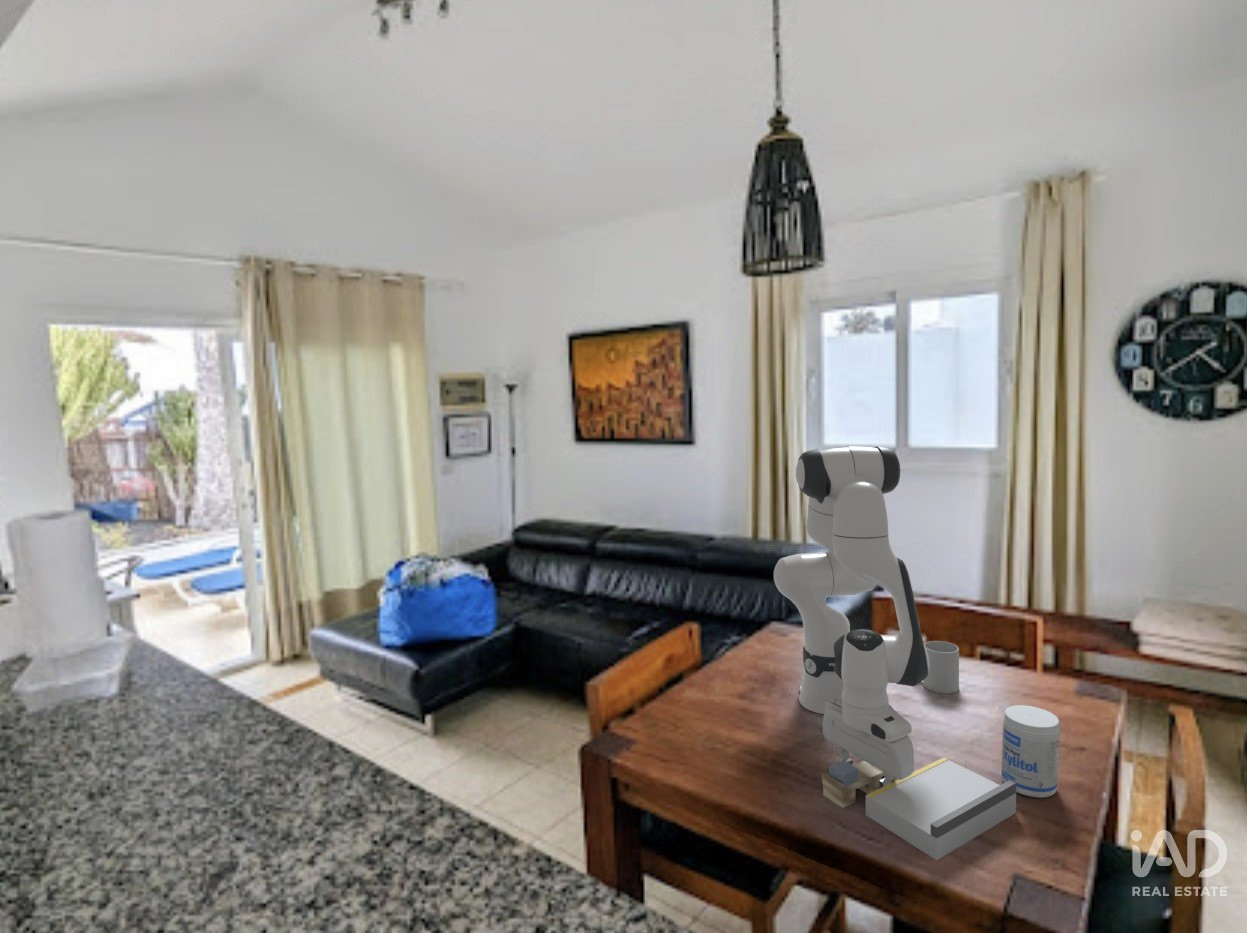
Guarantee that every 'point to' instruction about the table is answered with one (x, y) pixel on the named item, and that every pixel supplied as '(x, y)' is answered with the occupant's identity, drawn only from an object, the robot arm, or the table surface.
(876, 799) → the dock
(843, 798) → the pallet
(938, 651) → the mug
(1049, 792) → the supplement tub
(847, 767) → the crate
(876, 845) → the table surface
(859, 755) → the robot arm
